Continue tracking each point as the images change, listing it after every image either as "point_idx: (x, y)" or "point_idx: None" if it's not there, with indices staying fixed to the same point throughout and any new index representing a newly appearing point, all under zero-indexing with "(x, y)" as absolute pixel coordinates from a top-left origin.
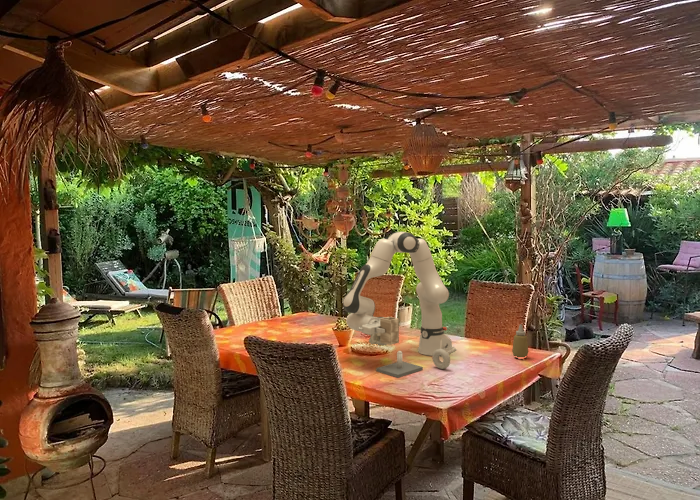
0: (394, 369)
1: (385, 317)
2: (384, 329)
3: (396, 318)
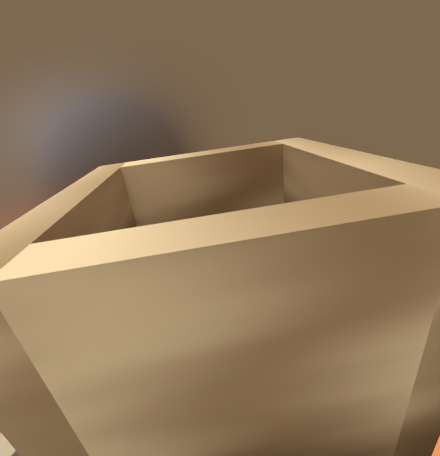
0: None
1: (197, 245)
2: None
3: (114, 169)
